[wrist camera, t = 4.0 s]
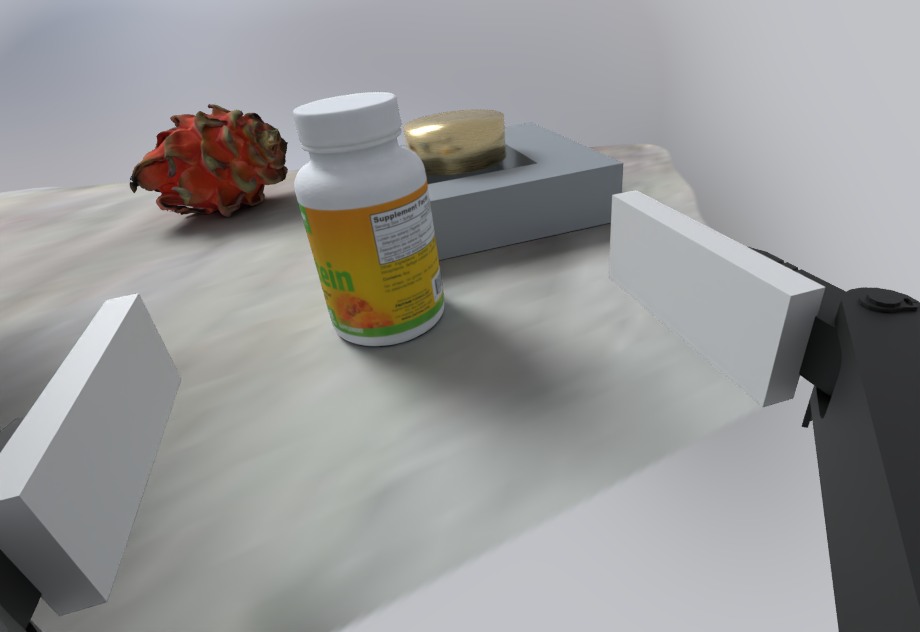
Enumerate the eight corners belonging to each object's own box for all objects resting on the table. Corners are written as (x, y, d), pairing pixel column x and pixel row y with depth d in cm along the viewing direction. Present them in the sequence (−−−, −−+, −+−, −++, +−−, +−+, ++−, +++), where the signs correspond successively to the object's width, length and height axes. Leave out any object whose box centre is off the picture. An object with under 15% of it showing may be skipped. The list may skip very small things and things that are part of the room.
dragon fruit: (318, 210, 45) (179, 266, 42) (282, 139, 48) (149, 188, 45) (294, 141, 37) (122, 205, 34) (252, 62, 40) (89, 115, 37)
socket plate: (359, 277, 29) (345, 217, 27) (341, 202, 41) (331, 157, 39) (620, 220, 32) (623, 163, 30) (533, 165, 43) (531, 122, 41)
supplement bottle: (314, 321, 25) (250, 112, 20) (404, 279, 28) (367, 86, 23) (371, 365, 22) (311, 123, 17) (469, 313, 24) (442, 91, 19)
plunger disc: (420, 181, 31) (413, 139, 30) (402, 157, 36) (396, 120, 35) (520, 162, 32) (518, 120, 31) (488, 142, 37) (486, 105, 36)
